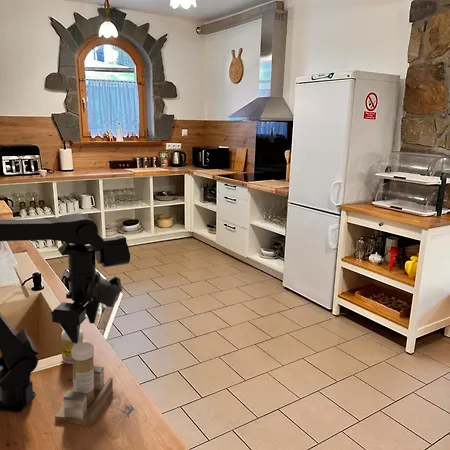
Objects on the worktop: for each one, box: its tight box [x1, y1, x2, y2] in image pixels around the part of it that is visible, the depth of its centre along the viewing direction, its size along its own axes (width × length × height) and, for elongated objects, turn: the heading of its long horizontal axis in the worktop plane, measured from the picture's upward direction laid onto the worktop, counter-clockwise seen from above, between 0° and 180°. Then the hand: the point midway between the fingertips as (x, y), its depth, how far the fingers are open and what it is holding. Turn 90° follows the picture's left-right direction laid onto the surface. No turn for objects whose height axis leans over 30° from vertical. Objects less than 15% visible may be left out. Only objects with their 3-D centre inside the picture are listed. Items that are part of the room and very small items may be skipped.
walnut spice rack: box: [54, 365, 114, 427], centre depth 94 cm, size 8×12×6 cm, turn 174°
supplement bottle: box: [60, 328, 84, 365], centre depth 109 cm, size 5×5×10 cm
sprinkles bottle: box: [71, 341, 95, 405], centre depth 92 cm, size 5×5×14 cm
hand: (84, 332), depth 99 cm, fingers open, 9 cm apart
